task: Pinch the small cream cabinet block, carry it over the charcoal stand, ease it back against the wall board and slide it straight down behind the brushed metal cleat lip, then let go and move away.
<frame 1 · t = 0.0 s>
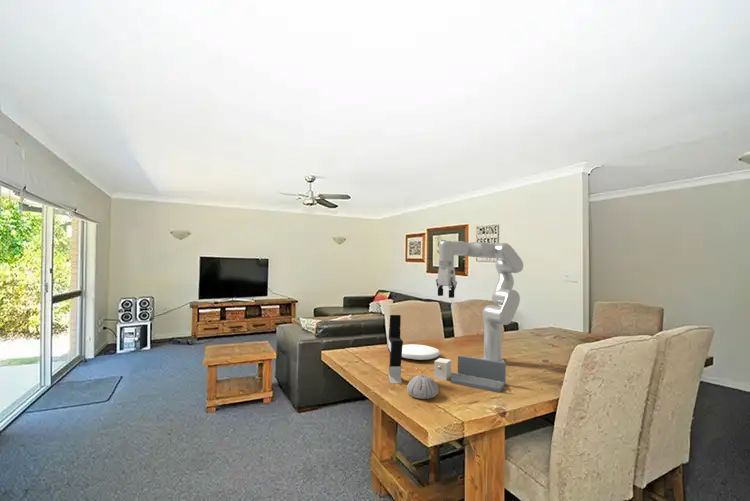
hand: (445, 296, 193), 37 cm above the table, tool pointing down, fingers open, 9 cm apart
plate: (416, 357, 213), on the table
cabinet block: (442, 377, 177), on the table
award: (394, 379, 172), on the table
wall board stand: (477, 383, 168), on the table
sea urchin shell: (422, 395, 153), on the table
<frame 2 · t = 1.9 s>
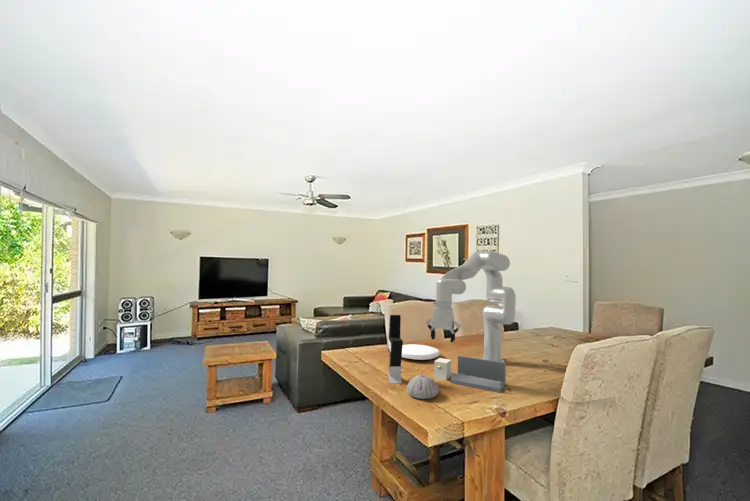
hand: (442, 340, 177), 18 cm above the table, tool pointing down, fingers open, 9 cm apart
nothing on the table moved.
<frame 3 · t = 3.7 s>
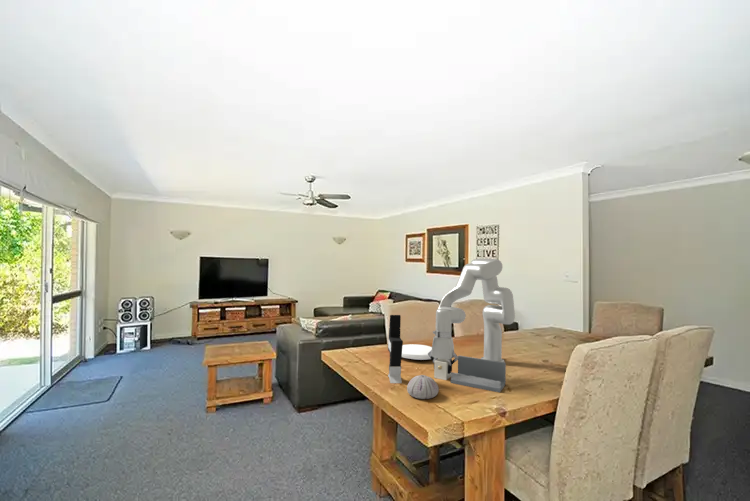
hand: (442, 371, 177), 3 cm above the table, tool pointing down, fingers closed on cabinet block, 6 cm apart
cabinet block: (442, 377, 177), on the table, touching gripper
everything else where it was.
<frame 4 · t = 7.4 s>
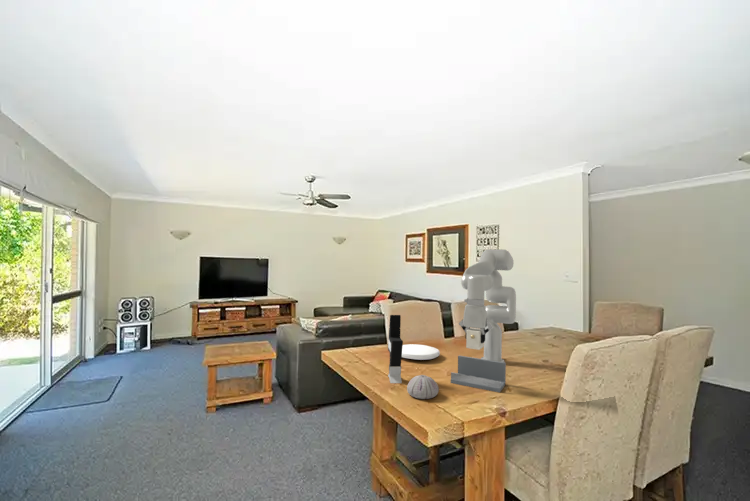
hand: (475, 341, 168), 19 cm above the table, tool pointing down, fingers closed on cabinet block, 6 cm apart
cabinet block: (475, 347, 168), point 17 cm above the table, touching gripper
everything else where it was.
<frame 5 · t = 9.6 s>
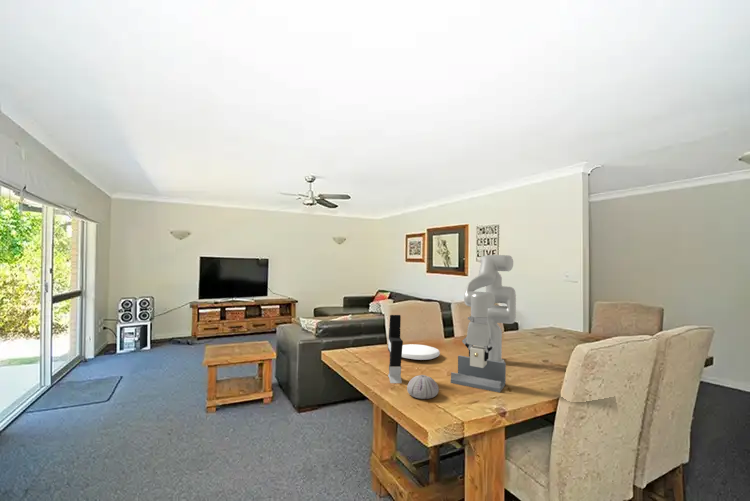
hand: (478, 359, 169), 11 cm above the table, tool pointing down, fingers closed on cabinet block, 6 cm apart
cabinet block: (478, 364, 169), point 8 cm above the table, touching gripper
everything else where it was.
when the fingers open (5 cm above the table, at t = 11.2 s): cabinet block drops 1 cm, resting on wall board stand.
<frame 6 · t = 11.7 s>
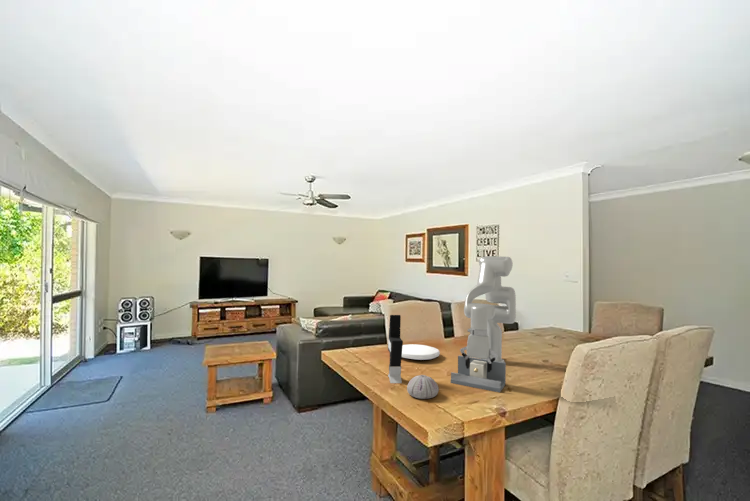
hand: (478, 369, 169), 6 cm above the table, tool pointing down, fingers open, 9 cm apart
cabinet block: (478, 380, 169), point 1 cm above the table, touching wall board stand
everything else where it was.
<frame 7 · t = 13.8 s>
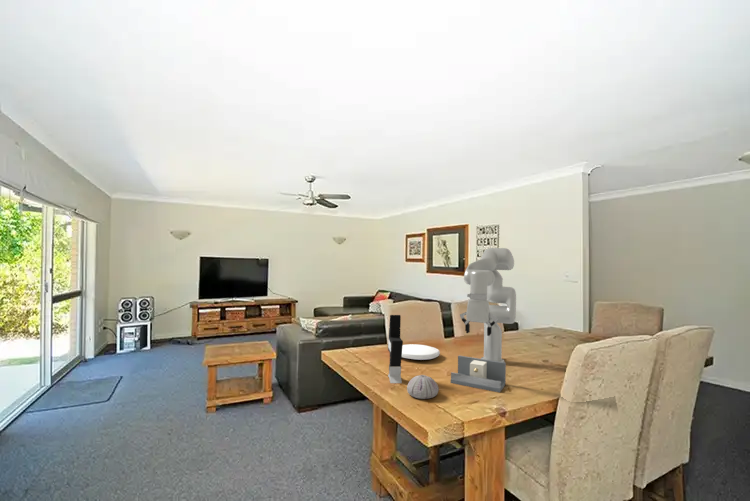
hand: (478, 334, 170), 22 cm above the table, tool pointing down, fingers open, 9 cm apart
nothing on the table moved.
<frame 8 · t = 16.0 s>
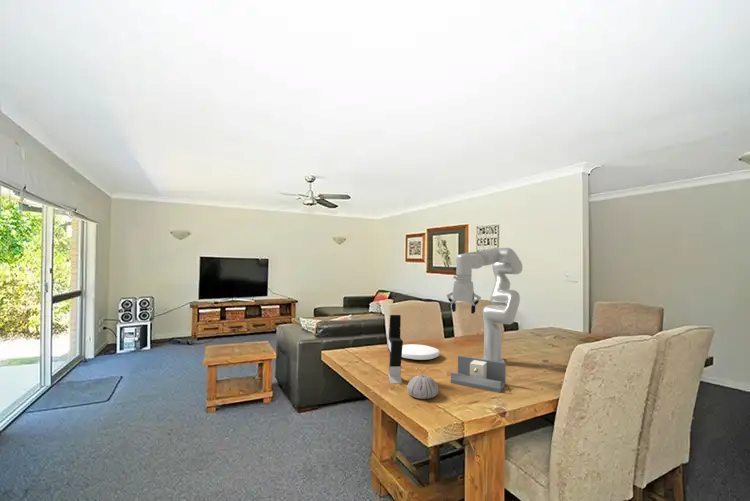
hand: (463, 312, 185), 30 cm above the table, tool pointing down, fingers open, 9 cm apart
nothing on the table moved.
at the end: cabinet block inside the target area on the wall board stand (0.1 cm from its centre), point 1.5 cm above the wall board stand's base; cabinet block tilted 0°; the gripper is holding nothing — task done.
